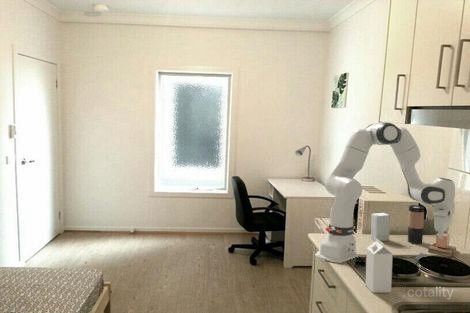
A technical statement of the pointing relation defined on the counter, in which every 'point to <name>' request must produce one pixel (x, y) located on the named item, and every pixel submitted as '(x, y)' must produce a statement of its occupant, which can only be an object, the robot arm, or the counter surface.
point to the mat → (421, 256)
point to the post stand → (442, 250)
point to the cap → (442, 241)
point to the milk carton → (378, 268)
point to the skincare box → (380, 226)
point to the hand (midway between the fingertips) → (443, 236)
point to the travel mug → (415, 224)
